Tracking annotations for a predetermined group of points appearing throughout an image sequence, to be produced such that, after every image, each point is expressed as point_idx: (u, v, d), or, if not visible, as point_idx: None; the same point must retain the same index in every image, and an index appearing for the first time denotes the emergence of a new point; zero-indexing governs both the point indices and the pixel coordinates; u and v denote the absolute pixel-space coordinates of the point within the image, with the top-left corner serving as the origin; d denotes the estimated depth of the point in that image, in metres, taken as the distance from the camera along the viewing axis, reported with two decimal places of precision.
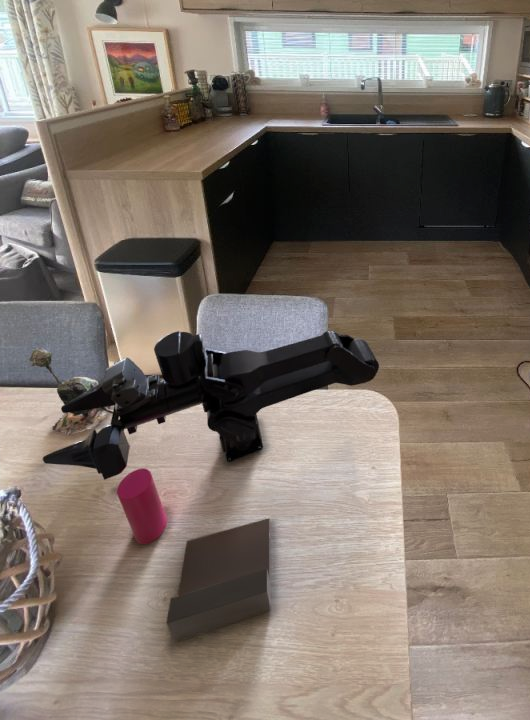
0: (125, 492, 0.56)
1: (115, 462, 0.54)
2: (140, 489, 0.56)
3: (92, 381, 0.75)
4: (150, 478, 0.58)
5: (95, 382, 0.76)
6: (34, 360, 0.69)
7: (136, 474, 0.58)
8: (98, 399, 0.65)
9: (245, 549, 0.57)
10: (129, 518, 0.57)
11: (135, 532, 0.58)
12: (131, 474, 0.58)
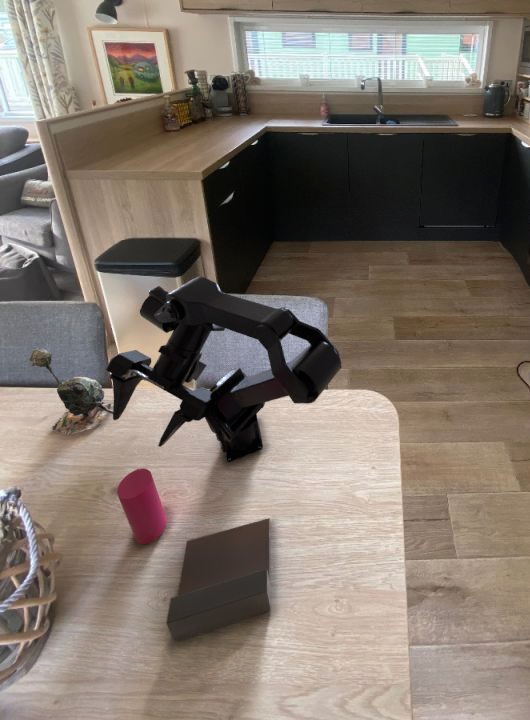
0: (125, 492, 0.56)
1: None
2: (140, 489, 0.56)
3: (92, 381, 0.75)
4: (150, 478, 0.58)
5: (95, 382, 0.76)
6: (34, 360, 0.69)
7: (136, 474, 0.58)
8: None
9: (245, 549, 0.57)
10: (129, 518, 0.57)
11: (135, 532, 0.58)
12: (131, 474, 0.58)
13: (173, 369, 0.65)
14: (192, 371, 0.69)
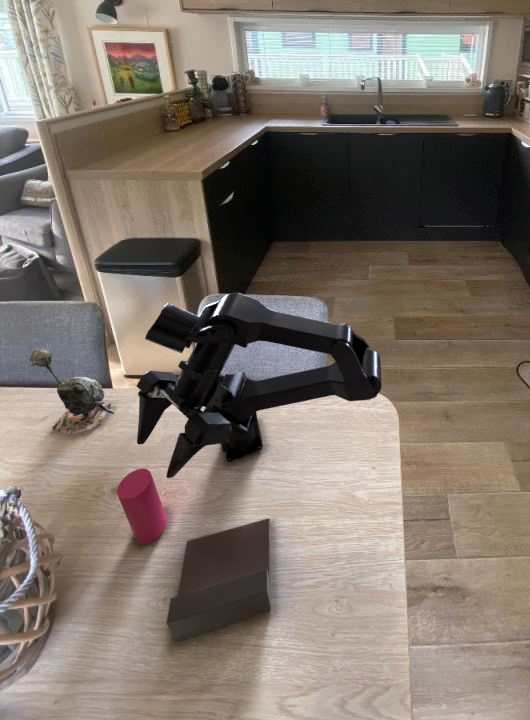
0: (125, 492, 0.56)
1: None
2: (140, 489, 0.56)
3: (92, 381, 0.75)
4: (150, 478, 0.58)
5: (95, 382, 0.76)
6: (34, 360, 0.69)
7: (136, 474, 0.58)
8: None
9: (245, 549, 0.57)
10: (129, 518, 0.57)
11: (135, 532, 0.58)
12: (131, 474, 0.58)
13: (187, 386, 0.61)
14: (212, 395, 0.64)
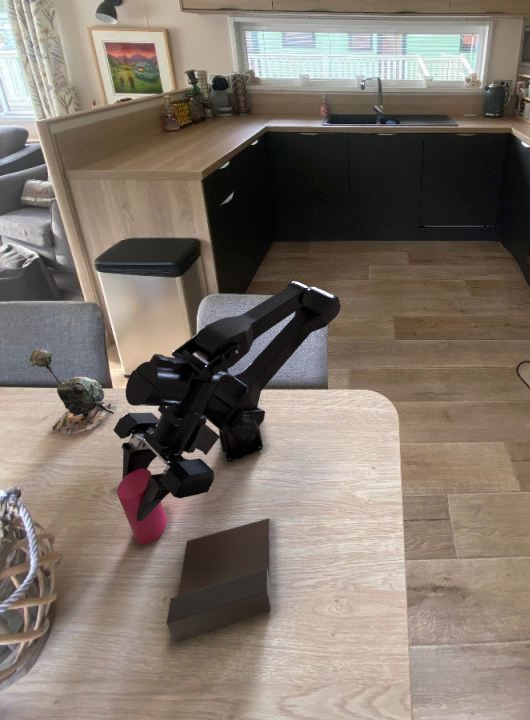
0: (125, 492, 0.56)
1: None
2: (140, 489, 0.56)
3: (92, 381, 0.75)
4: None
5: (95, 382, 0.76)
6: (34, 360, 0.69)
7: (136, 474, 0.58)
8: None
9: (245, 549, 0.57)
10: (129, 518, 0.57)
11: (135, 532, 0.58)
12: (131, 474, 0.58)
13: (167, 432, 0.58)
14: (194, 439, 0.61)
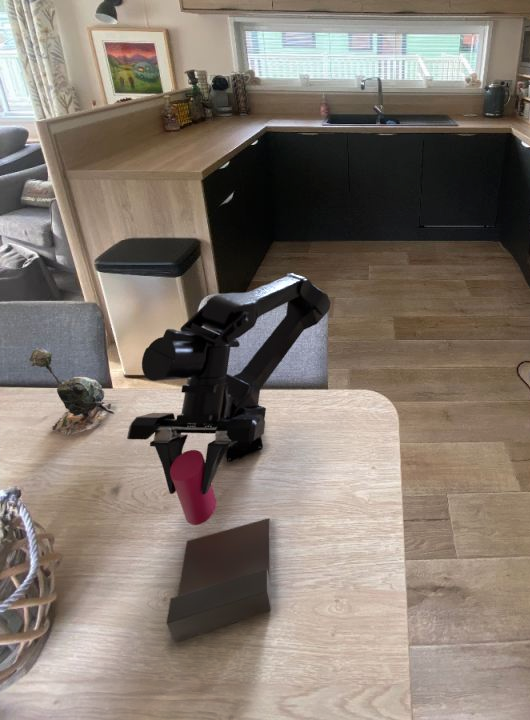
0: (184, 474, 0.55)
1: None
2: (197, 464, 0.56)
3: (92, 381, 0.75)
4: (200, 453, 0.58)
5: (95, 382, 0.76)
6: (34, 360, 0.69)
7: (182, 458, 0.57)
8: None
9: (245, 549, 0.57)
10: (190, 499, 0.56)
11: (196, 513, 0.58)
12: (176, 461, 0.56)
13: (205, 403, 0.59)
14: (224, 404, 0.63)
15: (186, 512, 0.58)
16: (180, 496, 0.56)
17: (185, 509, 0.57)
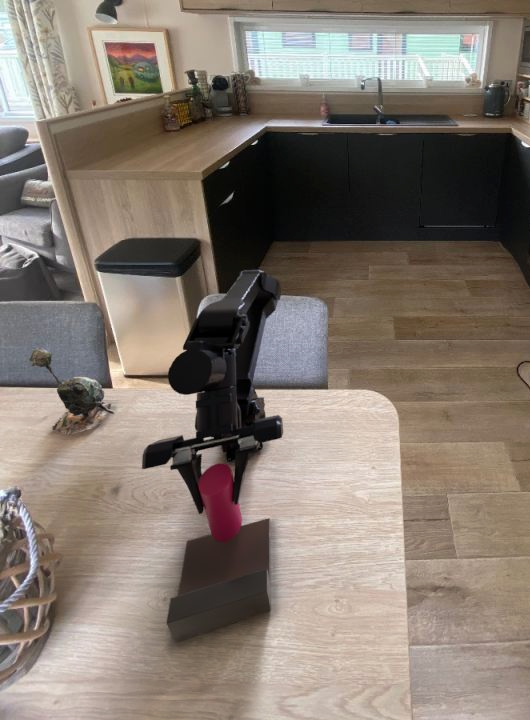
0: (216, 487, 0.54)
1: None
2: (227, 475, 0.55)
3: (92, 381, 0.75)
4: (225, 464, 0.57)
5: (95, 382, 0.76)
6: (34, 360, 0.69)
7: (207, 474, 0.55)
8: None
9: (245, 549, 0.57)
10: (223, 513, 0.55)
11: (227, 527, 0.56)
12: (202, 478, 0.55)
13: (224, 413, 0.58)
14: (238, 413, 0.62)
15: (217, 529, 0.56)
16: (212, 512, 0.54)
17: (216, 526, 0.55)
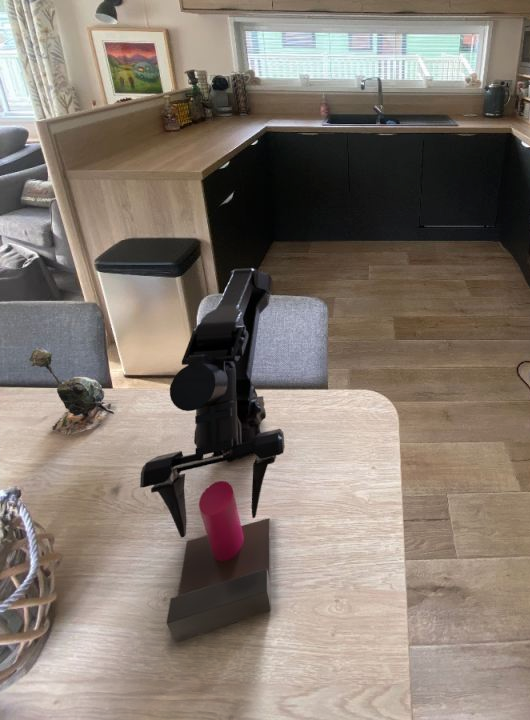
0: (217, 506, 0.53)
1: None
2: (228, 494, 0.54)
3: (92, 381, 0.75)
4: (226, 482, 0.55)
5: (95, 382, 0.76)
6: (34, 360, 0.69)
7: (208, 493, 0.54)
8: None
9: (245, 549, 0.57)
10: (224, 532, 0.54)
11: (228, 546, 0.55)
12: (203, 497, 0.54)
13: (224, 428, 0.56)
14: (238, 427, 0.61)
15: (218, 549, 0.55)
16: (213, 532, 0.53)
17: (217, 545, 0.54)
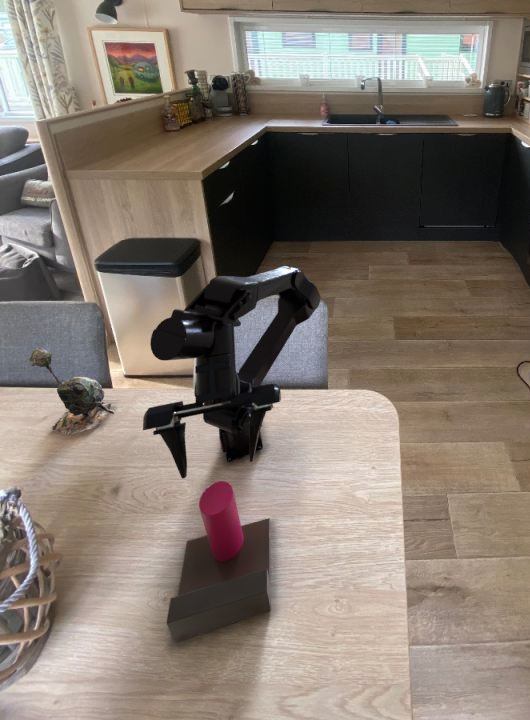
0: (217, 506, 0.53)
1: None
2: (228, 494, 0.54)
3: (92, 381, 0.75)
4: (226, 482, 0.55)
5: (95, 382, 0.76)
6: (34, 360, 0.69)
7: (208, 493, 0.54)
8: None
9: (245, 549, 0.57)
10: (224, 532, 0.54)
11: (228, 546, 0.55)
12: (203, 497, 0.54)
13: (223, 378, 0.59)
14: (236, 380, 0.63)
15: (218, 549, 0.55)
16: (213, 532, 0.53)
17: (217, 545, 0.54)
